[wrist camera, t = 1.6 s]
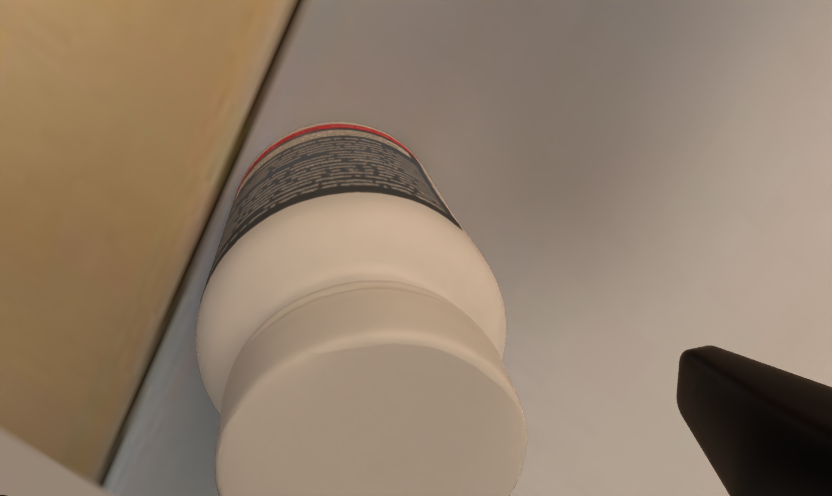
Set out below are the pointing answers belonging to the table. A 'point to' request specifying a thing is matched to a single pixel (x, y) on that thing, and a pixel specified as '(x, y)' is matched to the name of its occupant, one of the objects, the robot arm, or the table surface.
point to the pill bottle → (354, 331)
